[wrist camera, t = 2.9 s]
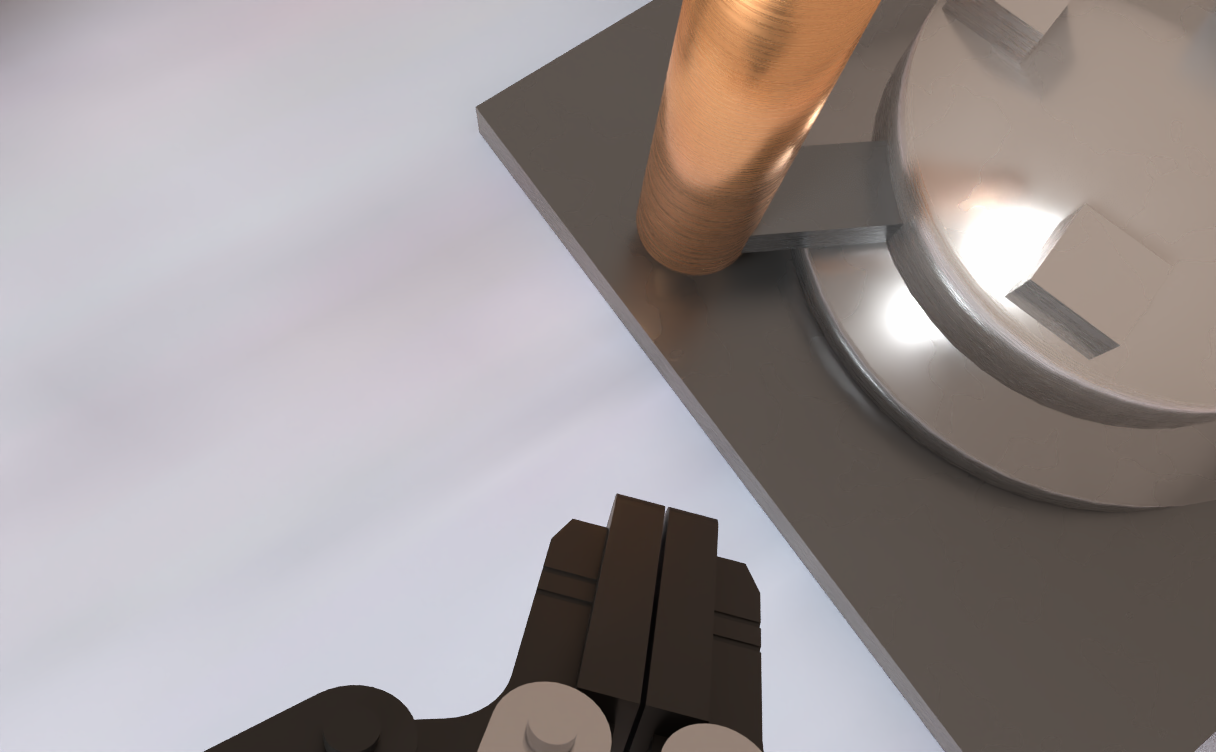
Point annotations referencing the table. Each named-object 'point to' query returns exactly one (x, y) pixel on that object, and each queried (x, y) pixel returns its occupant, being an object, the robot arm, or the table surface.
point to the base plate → (897, 436)
